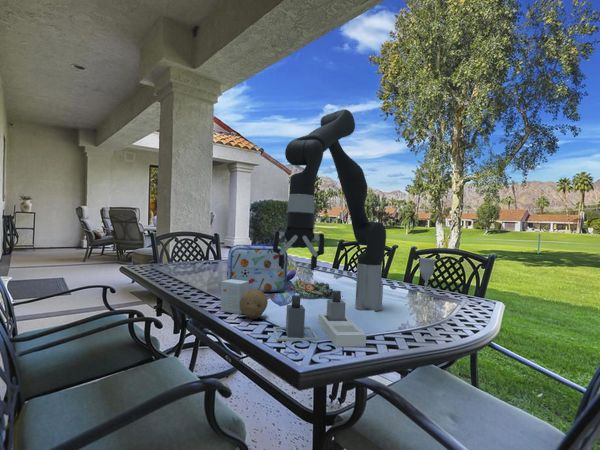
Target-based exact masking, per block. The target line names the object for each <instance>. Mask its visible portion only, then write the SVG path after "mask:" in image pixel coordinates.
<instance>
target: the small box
mask: <svg viewBox="0 0 600 450" xmlns="http://www.w3.org/2000/svg"><path fill="white" fill-rule="evenodd" d="M220 285H221V287H220V288H221V290H220V291H221V292H220V311H221V312H225V313H231V314H236V315H241V314H243V313H242V312H241V310H240V300H241V297H242V296H243V295H244V294H245V293H246V292H247V291H249V281H242V280H234V279H229V280H227V279H225V280H222V281H221V283H220Z"/></svg>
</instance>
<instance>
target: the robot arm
mask: <svg viewBox="0 0 600 450" xmlns="http://www.w3.org/2000/svg"><path fill="white" fill-rule="evenodd" d="M355 122H356V121H355V118H354V115H353V113H352V112H351V110H348V109H343V108H342V109H340V110H336V111H334V112H331V113H329V114H326V115H323V116H322V117H321V119H320V126H319V127H318V128H315V129H314V130H312V131H311V132H310V133H308V134H306V135H302V136H301V137H300V136H299V137H297V138H294V139H293V140H291V141H290V142H289V143H288V144H287V145H286V147H285V151H284V153H285V154H284V155H285V159H286V161H287V162H288V163H289V164H290V165H291V166H295V167H297V166H298V167H300V166H301V167H302V166H305V168H304V169H303V170H302V171H300V172H296V173H294V174H292V175H291V176H290V179H289V190H288V191H289V193H288V194H289V195H288V200H287V207H286V208H287V212H286V228H285V231H278V230H275V231H274V235H273V236H274V237H273V242H272V243H273V252H275V253H277V254H279V263H278V264H279V267H281V269H284V253H285V252H287V251H288V250H289V249H290V248H291V247H292V248H302V249H305V248H307V250H308V251H309V252H310V254H311V257H310V270H311V271H314V270H315V269H317V265H318V258H319V256H323V255H324V254H325V234H324V233H314V221H315V220H314V219H315V218H314V217H315V208H316V207H315V206H316V205H315V189H316V188H315V186H316V180H317V176H318V173H319V169H320V166H321V163H322V161H323V157H324V152H326V151H327V150H329V153H330V155H331V158H332V161H333V163H334V166H335V170H336V172H337V177H338V180H339V184H340V187H341V189H342V192H343V195H344V196H343V197H344V199H345V202H346V205H347V209H348V213H349V216H350V222H351V227H352V232H353V236H354V239H355V240H356V242H357V243H358V244H359V245H362V246H366V249H365V251H364V252H363V253H361V254H359V255H358V256H357V261H356V262H357V266H356V281H355V282H356V287H355V301H354V303H355V309H357V310H359V311H374V312H378V311H383V295H384V294H383V293H384V292H383V291H384V285H383V284H382V269H383V260H384V257H385V251H386V244H387V243H386V242H387V230H386V228H385V225H384V224H383V223H381V222H378V221H369V219H368V217H367V213H366V207H365V205H366V199H367V196H368V195H367V194H368V183H367V179H366V177H365V173H364V171H363V169H362V167H361V166H360V165H359V164H358V162H356V161H355V160H354V159H353V158H351V157H350V156H349V155H348V154H347V152H345V151H344V149H343V147H342V145H341V142H340V141H339V140H341V139H343V138H346V137H349V136H350V135H352V134H353V133H354V131H355V129H356V123H355ZM283 236H284V238H285V239H286V242H285V244H283V246H282V247H281V250H280V249H278V246H279V242H280V240H281V239H282V237H283ZM314 239H315V240H316V241H317V242H318V243H317V245H318V246H317V247H318V248H317V250H316V249H315V246H314V245H313V244H312V243H311V242H312V241H313V240H314Z"/></svg>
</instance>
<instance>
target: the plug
mask: <svg viewBox="0 0 600 450" xmlns="http://www.w3.org/2000/svg"><path fill="white" fill-rule="evenodd" d="M299 295H300V294H294V295H292V296H291V304H287V305H286V315H285V317H286V318H285V327H286V329H285V333H286V336H287V338H305V329H304V327H305V317H306V309H305V306H303V304H301V299H300V298H301V296H299Z"/></svg>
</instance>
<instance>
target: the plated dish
mask: <svg viewBox="0 0 600 450" xmlns="http://www.w3.org/2000/svg"><path fill="white" fill-rule="evenodd" d="M295 279H296V281H294V284H293V285H292V286H291V287H290V289H291V290H293V294H297V295H299V296H301V298H300V300H309V301H311V300H313V301H314V300H321V299H322V300H332V297H333V291H334V290H333V288H331V287H330V284H329V283H325V282H319V281H318V280H316V279H314V281H313V283H309V282H306V279H305V278H304V279H302V278H300V275H298V277H297V278H295Z"/></svg>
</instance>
